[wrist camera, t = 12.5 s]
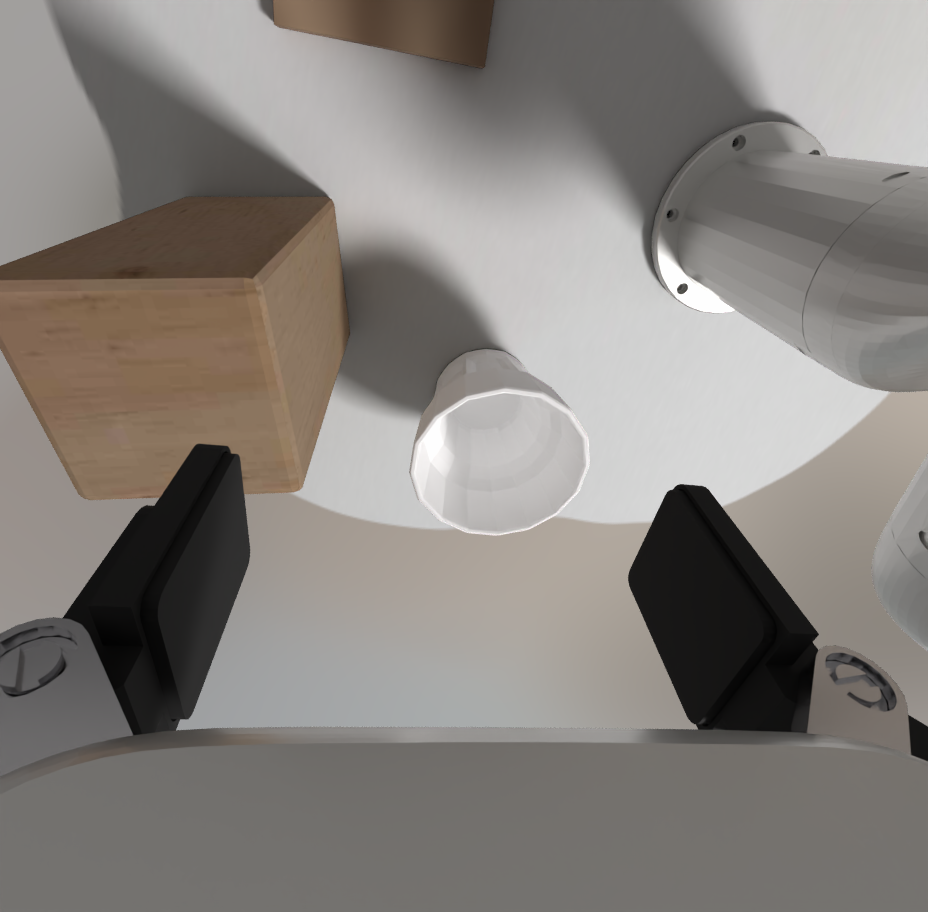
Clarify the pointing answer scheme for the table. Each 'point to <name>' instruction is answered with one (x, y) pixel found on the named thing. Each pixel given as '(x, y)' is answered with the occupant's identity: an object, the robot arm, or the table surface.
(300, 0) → the post base
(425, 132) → the table surface
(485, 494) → the cup
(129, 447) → the wooden block
